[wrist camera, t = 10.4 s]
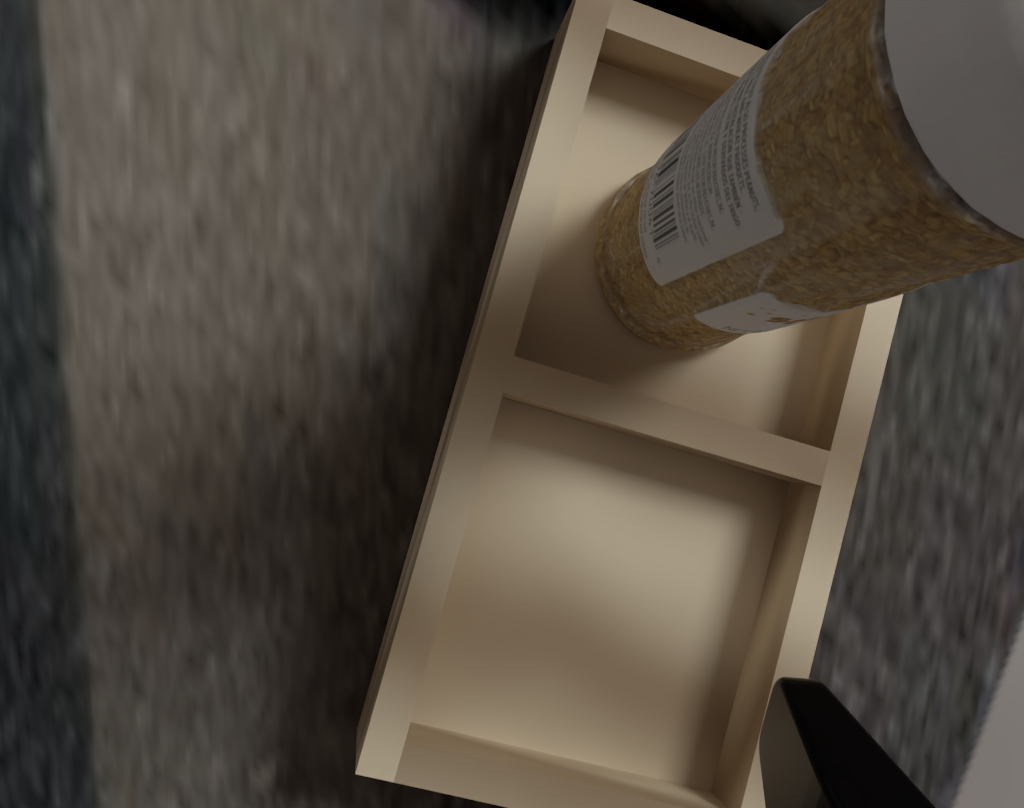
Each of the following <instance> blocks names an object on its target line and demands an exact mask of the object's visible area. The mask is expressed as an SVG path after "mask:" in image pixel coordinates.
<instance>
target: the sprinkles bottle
mask: <svg viewBox="0 0 1024 808" xmlns="http://www.w3.org/2000/svg"><path fill="white" fill-rule="evenodd" d="M1021 259H1024V0H828V1H827V2H826V3H825V4H824V5H823V6H821V7H820V8H818V9H817V10H815V11H813V12H812V13H810V14H809V15H807V16H806V17H805V18H804V19H802V20H801V21H800V22H799V23H798V24H797V25H795V26H794V27H793V28H792V29H791V30H790V31H789V32H788V33H787V34H786V35H785V36H784V37H783V38H782V39H780V40H779V41H778V42H777V43H776V44H775V45H774V46H773V47H772V48H771V49H770V50H769V51H768V52H767V53H766V54H764V55H763V56H762V57H761V58H760V59H759V60H758V61H757V62H756V63H755V64H754V65H753V66H752V67H751V68H750V69H749V70H747V71H746V72H745V73H744V74H743V75H742V76H741V77H740V78H739V79H738V80H737V81H736V82H735V83H734V84H733V85H732V86H731V87H730V88H729V89H728V90H727V91H725V92H724V93H723V94H722V95H721V96H720V97H719V98H718V99H717V100H716V101H715V102H714V103H713V104H712V105H711V106H710V107H709V108H708V109H707V110H706V111H705V112H704V113H703V114H702V115H701V116H700V117H699V118H698V119H697V120H696V121H695V122H694V123H692V124H691V125H690V126H689V127H688V128H687V129H686V130H685V131H684V132H683V133H682V134H681V135H680V136H679V137H678V138H677V139H676V140H675V141H674V142H673V143H672V144H671V145H670V146H669V147H668V148H667V149H666V151H665V152H664V153H663V154H662V155H661V157H660V158H659V159H658V160H657V162H656V164H654V165H653V166H652V167H650V168H648V169H646V170H644V171H642V172H640V173H638V174H636V175H635V176H634V177H633V178H631V179H630V180H629V181H628V182H627V183H626V184H625V185H623V186H622V187H621V188H620V189H619V191H618V192H617V193H616V194H615V196H614V197H613V199H612V201H611V203H610V205H609V206H608V207H607V208H606V210H605V212H604V215H603V219H602V222H601V224H600V226H599V229H598V232H597V238H596V255H595V262H596V271H597V274H598V277H599V281H600V284H601V288H602V290H603V292H604V294H605V298H606V300H607V302H608V303H609V304H610V305H611V307H612V308H613V310H614V312H615V314H616V315H617V316H618V317H619V319H620V320H621V322H622V323H623V324H624V325H625V326H626V327H627V328H628V329H629V330H630V331H631V332H633V333H635V334H636V335H638V336H639V337H641V338H643V339H644V340H646V341H648V342H651V343H653V344H655V345H658V346H662V347H667V348H669V349H673V350H679V351H683V352H698V351H704V350H707V349H712V348H718V347H720V346H723V345H725V344H728V343H730V342H732V341H734V340H736V339H737V338H739V337H741V336H743V335H746V334H749V333H760V332H767V331H771V330H775V329H779V328H783V327H786V326H790V325H794V324H798V323H802V322H805V321H809V320H813V319H816V318H820V317H824V316H827V315H831V314H835V313H838V312H842V311H846V310H849V309H853V308H856V307H860V306H864V305H868V304H871V303H875V302H878V301H882V300H886V299H889V298H892V297H895V296H898V295H901V294H904V293H907V292H910V291H913V290H916V289H919V288H921V287H923V286H925V285H927V284H929V283H932V282H938V281H944V280H947V279H950V278H953V277H956V276H960V275H963V274H968V273H971V272H974V271H978V270H982V269H987V268H992V267H995V266H998V265H1000V264H1006V263H1011V262H1014V261H1017V260H1021Z"/></svg>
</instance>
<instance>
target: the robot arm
mask: <svg viewBox="0 0 1024 808" xmlns="http://www.w3.org/2000/svg"><path fill="white" fill-rule="evenodd" d="M759 756H760V765H761V774H762V782H763V790H764V799H765V807H766V808H936V807H935V806H934V805H933V804H932V803H931V802H930V801H929V799H928V798H927V797H926V796H925V795H924V794H923V793H922V792H921V791H920V790H919V788H918V787H917V786H916V785H915V784H914V783H913V782H912V781H911V780H910V778H909V777H908V776H907V775H906V774H905V773H904V772H903V771H902V770H901V768H900V767H899V766H898V765H897V764H896V763H895V762H894V761H893V760H892V759H891V757H890V756H889V755H888V754H887V753H886V752H885V751H884V750H883V749H882V747H881V746H880V745H879V744H878V743H877V742H876V741H875V740H874V739H873V738H872V736H871V735H870V734H869V733H868V732H867V731H866V730H865V729H864V728H863V726H862V725H861V724H860V723H859V722H858V721H857V720H856V719H855V718H854V717H853V715H852V714H851V713H850V712H849V711H848V710H847V709H846V708H845V707H844V705H843V704H842V703H841V702H840V701H839V700H838V699H837V698H836V697H835V695H834V694H833V693H832V692H831V691H830V690H829V689H828V688H827V687H826V686H825V685H824V684H823V683H821V682H820V681H818V680H815V679H805V678H792V677H782V678H779V679H778V680H777V681H776V682H775V684H774V686H773V689H772V692H771V696H770V699H769V703H768V707H767V710H766V714H765V717H764V721H763V724H762V728H761V732H760V738H759Z"/></svg>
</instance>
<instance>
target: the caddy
mask: <svg viewBox="0 0 1024 808" xmlns="http://www.w3.org/2000/svg"><path fill="white" fill-rule="evenodd" d="M767 52H768V51H766V50H763V49H761V48H758V47H755V46H753V45H750V44H747V43H745V42H742V41H739V40H737V39H734V38H731V37H729V36H726V35H723V34H721V33H718V32H715V31H713V30H710V29H707V28H705V27H702V26H699V25H697V24H694V23H691V22H689V21H686V20H683V19H680V18H678V17H675V16H672V15H670V14H667V13H664V12H662V11H659V10H656V9H654V8H651V7H648V6H646V5H643V4H640V3H638V2H635V1H632V0H572V3H571V5H570V7H569V9H568V11H567V13H566V15H565V17H564V20H563V22H562V24H561V26H560V28H559V30H558V32H557V34H556V37H555V40H554V43H553V47H552V50H551V53H550V57H549V60H548V64H547V67H546V71H545V74H544V78H543V81H542V85H541V88H540V92H539V95H538V99H537V102H536V106H535V109H534V113H533V116H532V120H531V123H530V127H529V130H528V134H527V137H526V141H525V144H524V148H523V151H522V155H521V158H520V162H519V165H518V169H517V172H516V176H515V179H514V183H513V186H512V190H511V193H510V197H509V200H508V204H507V207H506V211H505V214H504V218H503V221H502V225H501V228H500V232H499V235H498V239H497V242H496V245H495V249H494V252H493V256H492V259H491V263H490V266H489V270H488V273H487V277H486V280H485V284H484V287H483V291H482V294H481V298H480V301H479V305H478V308H477V312H476V315H475V319H474V322H473V326H472V329H471V333H470V336H469V340H468V343H467V347H466V350H465V354H464V357H463V361H462V364H461V368H460V371H459V375H458V378H457V382H456V385H455V389H454V392H453V396H452V399H451V403H450V406H449V410H448V413H447V417H446V420H445V424H444V427H443V431H442V434H441V437H440V441H439V444H438V448H437V451H436V455H435V458H434V462H433V465H432V469H431V472H430V476H429V479H428V483H427V486H426V490H425V493H424V497H423V500H422V504H421V507H420V511H419V514H418V518H417V521H416V525H415V528H414V532H413V535H412V539H411V542H410V546H409V549H408V553H407V556H406V560H405V563H404V567H403V570H402V574H401V577H400V581H399V584H398V588H397V591H396V595H395V598H394V602H393V605H392V609H391V612H390V616H389V619H388V623H387V626H386V630H385V633H384V636H383V640H382V643H381V647H380V650H379V654H378V657H377V661H376V664H375V668H374V671H373V675H372V678H371V682H370V685H369V689H368V692H367V696H366V699H365V703H364V706H363V710H362V713H361V717H360V720H359V724H358V727H357V741H356V767H355V774H357V775H362V776H366V777H371V778H375V779H380V780H384V781H389V782H393V783H398V784H403V785H407V786H412V787H416V788H421V789H425V790H430V791H434V792H439V793H443V794H448V795H452V796H457V797H462V798H466V799H471V800H475V801H480V802H484V803H489V804H493V805H498V806H502V807H507V808H766V807H765V799H764V790H763V782H762V774H761V765H760V756H759V738H760V732H761V728H762V724H763V721H764V717H765V714H766V710H767V707H768V703H769V699H770V696H771V692H772V689H773V686H774V684H775V682H776V681H777V680H778V679H779V678H782V677H792V678H805V679H808V677H809V673H810V669H811V665H812V661H813V657H814V653H815V649H816V645H817V641H818V637H819V633H820V629H821V625H822V621H823V617H824V613H825V609H826V604H827V600H828V596H829V592H830V588H831V584H832V580H833V576H834V572H835V568H836V564H837V560H838V556H839V552H840V548H841V544H842V540H843V536H844V532H845V528H846V524H847V520H848V515H849V511H850V507H851V503H852V499H853V495H854V491H855V487H856V483H857V479H858V475H859V471H860V467H861V463H862V459H863V455H864V451H865V447H866V443H867V439H868V435H869V430H870V426H871V422H872V418H873V414H874V410H875V406H876V402H877V398H878V394H879V390H880V386H881V382H882V378H883V374H884V370H885V366H886V362H887V358H888V354H889V350H890V345H891V341H892V337H893V333H894V329H895V325H896V321H897V317H898V313H899V309H900V305H901V301H902V297H903V294H901V295H898V296H895V297H892V298H889V299H886V300H882V301H878V302H875V303H871V304H868V305H864V306H860V307H856V308H853V309H849V310H846V311H842V312H838V313H835V314H831V315H827V316H824V317H820V318H816V319H813V320H809V321H805V322H802V323H798V324H794V325H790V326H786V327H783V328H779V329H775V330H771V331H767V332H760V333H749V334H746V335H743V336H741V337H739V338H737V339H736V340H734V341H732V342H730V343H728V344H725V345H723V346H720V347H718V348H712V349H707V350H704V351H698V352H683V351H679V350H673V349H669V348H667V347H662V346H658V345H655V344H653V343H651V342H648V341H646V340H644V339H643V338H641V337H639V336H638V335H636V334H635V333H633V332H631V331H630V330H629V329H628V328H627V327H626V326H625V325H624V324H623V323H622V322H621V320H620V319H619V317H618V316H617V315H616V314H615V312H614V310H613V308H612V307H611V305H610V304H609V303H608V302H607V300H606V298H605V294H604V292H603V290H602V288H601V284H600V281H599V277H598V274H597V271H596V262H595V255H596V238H597V232H598V229H599V226H600V224H601V222H602V219H603V215H604V212H605V210H606V208H607V207H608V206H609V205H610V203H611V201H612V199H613V197H614V196H615V194H616V193H617V192H618V191H619V189H620V188H621V187H622V186H623V185H625V184H626V183H627V182H628V181H629V180H630V179H631V178H633V177H634V176H635V175H636V174H638V173H640V172H642V171H644V170H646V169H648V168H650V167H652V166H653V165H654V164H656V162H657V160H658V159H659V158H660V157H661V155H662V154H663V153H664V152H665V151H666V149H667V148H668V147H669V146H670V145H671V144H672V143H673V142H674V141H675V140H676V139H677V138H678V137H679V136H680V135H681V134H682V133H683V132H684V131H685V130H686V129H687V128H688V127H689V126H690V125H691V124H692V123H694V122H695V121H696V120H697V119H698V118H699V117H700V116H701V115H702V114H703V113H704V112H705V111H706V110H707V109H708V108H709V107H710V106H711V105H712V104H713V103H714V102H715V101H716V100H717V99H718V98H719V97H720V96H721V95H722V94H723V93H724V92H725V91H727V90H728V89H729V88H730V87H731V86H732V85H733V84H734V83H735V82H736V81H737V80H738V79H739V78H740V77H741V76H742V75H743V74H744V73H745V72H746V71H747V70H749V69H750V68H751V67H752V66H753V65H754V64H755V63H756V62H757V61H758V60H759V59H760V58H761V57H762V56H763V55H764V54H766V53H767Z"/></svg>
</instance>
